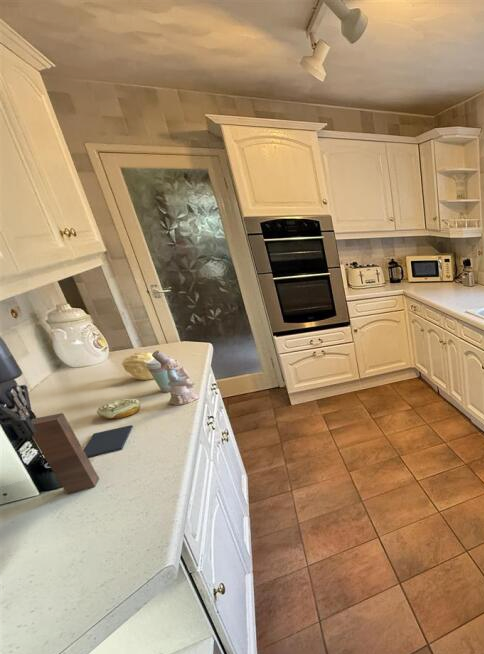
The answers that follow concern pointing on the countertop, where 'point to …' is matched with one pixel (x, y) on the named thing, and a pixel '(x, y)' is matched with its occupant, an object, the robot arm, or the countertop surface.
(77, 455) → the walnut block
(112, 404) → the decorated donut
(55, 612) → the countertop surface
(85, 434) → the countertop surface
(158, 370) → the coffee cup
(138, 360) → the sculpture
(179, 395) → the figurine
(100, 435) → the rubber mat
